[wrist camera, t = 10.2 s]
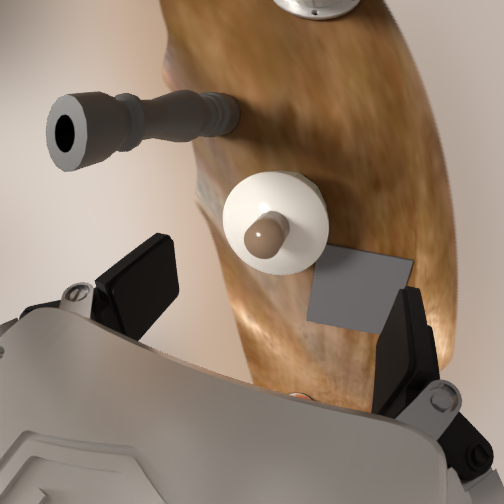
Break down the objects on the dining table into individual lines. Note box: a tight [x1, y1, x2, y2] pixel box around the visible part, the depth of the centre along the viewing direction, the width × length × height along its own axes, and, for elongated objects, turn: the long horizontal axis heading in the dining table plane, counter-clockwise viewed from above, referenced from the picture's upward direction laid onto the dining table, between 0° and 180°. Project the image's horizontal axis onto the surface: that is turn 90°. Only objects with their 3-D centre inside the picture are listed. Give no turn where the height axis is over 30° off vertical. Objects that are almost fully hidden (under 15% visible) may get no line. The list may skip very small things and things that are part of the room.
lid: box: [223, 171, 329, 275], centre depth 32 cm, size 13×13×5 cm
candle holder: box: [46, 90, 240, 172], centre depth 26 cm, size 6×6×25 cm
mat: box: [306, 244, 413, 334], centre depth 41 cm, size 14×14×1 cm
